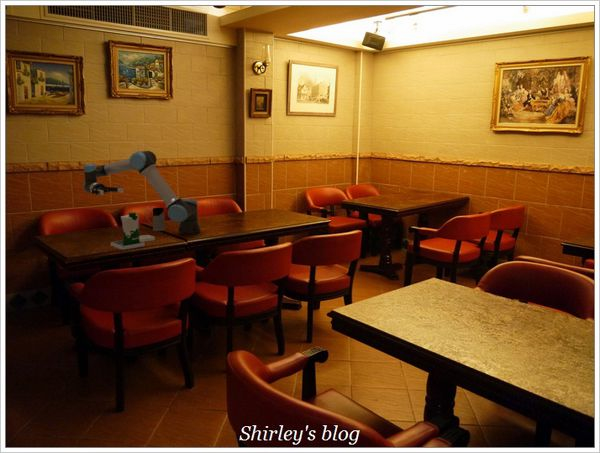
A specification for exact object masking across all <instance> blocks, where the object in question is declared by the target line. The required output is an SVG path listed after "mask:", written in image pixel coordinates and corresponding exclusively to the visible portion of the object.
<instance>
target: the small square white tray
mask: <svg viewBox="0 0 600 453" xmlns="http://www.w3.org/2000/svg"><path fill="white" fill-rule="evenodd" d="M139 241H141V242H144V243H145V242H151V241H156V237H155V236H153V235H149V234H144V235H139Z"/></svg>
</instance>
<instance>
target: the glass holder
mask: <svg viewBox="0 0 600 453" xmlns="http://www.w3.org/2000/svg"><path fill="white" fill-rule="evenodd" d="M147 211H149V212H150V216H151V217H152V222H151V221H150V220H149V218H148V216H147ZM145 217H146V220H147V221H148V222H149V223H150V224H151V225H152V227H153V228H152V231H156V232H161V231H165V230H166V227H165V225H166V224H165V223H166V222H165V208H164V207H153V208H152V211H151V210H150V209H146V210H145Z"/></svg>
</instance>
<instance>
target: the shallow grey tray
mask: <svg viewBox="0 0 600 453" xmlns="http://www.w3.org/2000/svg"><path fill="white" fill-rule="evenodd" d="M145 244H146V243H145V242H141V241H140V243H137V244H132V245H126V246H125V245H123V239H121V240H115V241H111V242H110V246H111V247H113V246H114V248H116V249H119V250H122V251H124V250H129V249H135V248H140V247H141V248H142V247H145V246H146V245H145Z"/></svg>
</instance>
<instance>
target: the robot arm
mask: <svg viewBox="0 0 600 453" xmlns="http://www.w3.org/2000/svg"><path fill="white" fill-rule="evenodd" d="M157 160H158V159H157V156H156V154H155V153H154V152H153V151H151V150H142V151H140V150H139V151H135V152H133V153H132V154H131V155H130V157H129V158H126V159H122V160H118V161H114V162H109V163H106V164H102V165H98V166H97V165H96V164H95V163H89V164H84V166H83V173H84V183H83V185H82V189H83V190H84V191H85V192H86V193H88V194H91V195H95V196H104V195H105V193H110V192H116V193H119V194H121V193H122V194H123V193H125V192H124V188H123V187H122V186H121V187H120V186H118V187H115V186H106V185H104V184H103V183H99V182H98V178H101V177H102V178H103V177H106V176H108V175H109V176H110V175H114V174H117V173H118V174H119V173H123V172H127V171H129V170H134V171H137V172H138V173H139V174H140V175H141V176H144V177H145V178H146V180H147V181H148V182H149V184H150V185H151V186H152V188H153V189H154V190H155V192H156V193H157V194H158V196H159V197H160V198H161V200H162V201H163V202H164V204H165V205H166V206H165V209H166V210H167V216H168V218H169V219H170V220H171V221H173V222H175V223H179V226H178V229H177V231H178V234H179V235H189V236H190V235H197V234H200V233H201V232H202V231H201V230H202V229H201V227H200V224H199V221H198V219H199V218H198V216H199V215H198V213H199V212H198V201H197V199H187V198H186V199H184V198H183V199H182V198H181V197H178V196H177V195H176V194H175V192H174V191H173V190H172V189H171V187H170V186H169V184H168V183H167V182H166V180H165V179H164V177H163V176H162V175H161V173H160V172H159V170H157V168H156V167H157V166H156V165H157Z"/></svg>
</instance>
